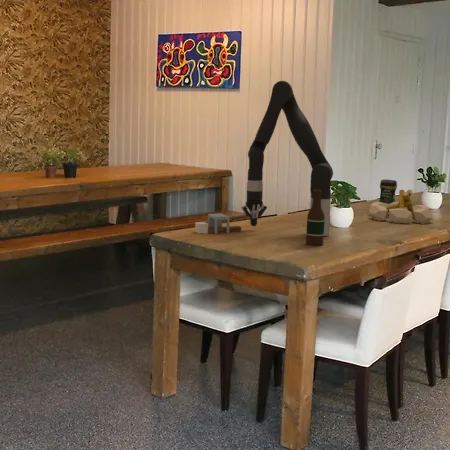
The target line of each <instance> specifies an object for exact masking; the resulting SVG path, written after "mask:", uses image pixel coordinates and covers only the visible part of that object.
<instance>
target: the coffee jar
mask: <svg viewBox="0 0 450 450" xmlns="http://www.w3.org/2000/svg"><path fill="white" fill-rule="evenodd" d="M379 183H380V184H379V188H380V194H379V195H380V196H379V199H378V200H379V201H378V202H382V203H387V204H390V203H393V202H396V190H397V189H398V182H397V180H392V179H381V180H380V182H379Z"/></svg>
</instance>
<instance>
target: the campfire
mask: <svg viewBox="0 0 450 450" xmlns="http://www.w3.org/2000/svg"><path fill="white" fill-rule="evenodd" d="M413 193H414V191H413V189H408V190H406V191H405V190H404V189H399V192H398V194H399V196H398V198H399V199H398V200H399V201H395V202H393V203H390V204H387V203H382V202H379V201H374V202H373V203H371V204H370V205H369V210H368V211H369V212H368V214H369V215H370V218H371V219H372V220H374V221H376V220H377V221H376V222H384V221H386V219H387V217H388V220H390V221H391V222H392V223H394V224H400V223H408V224H410V223H413V222H418V223H417V224H420V223H426V224H430V222H431V221H432V220H433V217H434V216H433V211H432V209H431V207H429V206H427V205H424V204H415V205H414V201H413V199H411V195H412V194H413ZM413 219H414V220H413Z"/></svg>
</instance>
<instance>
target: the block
mask: <svg viewBox="0 0 450 450" xmlns="http://www.w3.org/2000/svg"><path fill="white" fill-rule="evenodd" d="M196 232H197V233H196ZM194 233H196V234H198V233H203V234H209V233H208V222H206V221H200V222H196V221H195V224H194Z"/></svg>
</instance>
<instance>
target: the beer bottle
mask: <svg viewBox="0 0 450 450" xmlns="http://www.w3.org/2000/svg"><path fill="white" fill-rule="evenodd" d="M313 192H314V196H313V204H312V208H311V209H310V208H309V210H308V213H307V218H306V232H305V233H306V234H305V244H306V245H308V246H310V247H314V246H315V247H321V246H324V237H325V236H324V221H325V216H324V213H323V211H322V209H321V193H322V191H321V190H320V189H314V191H313Z"/></svg>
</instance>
